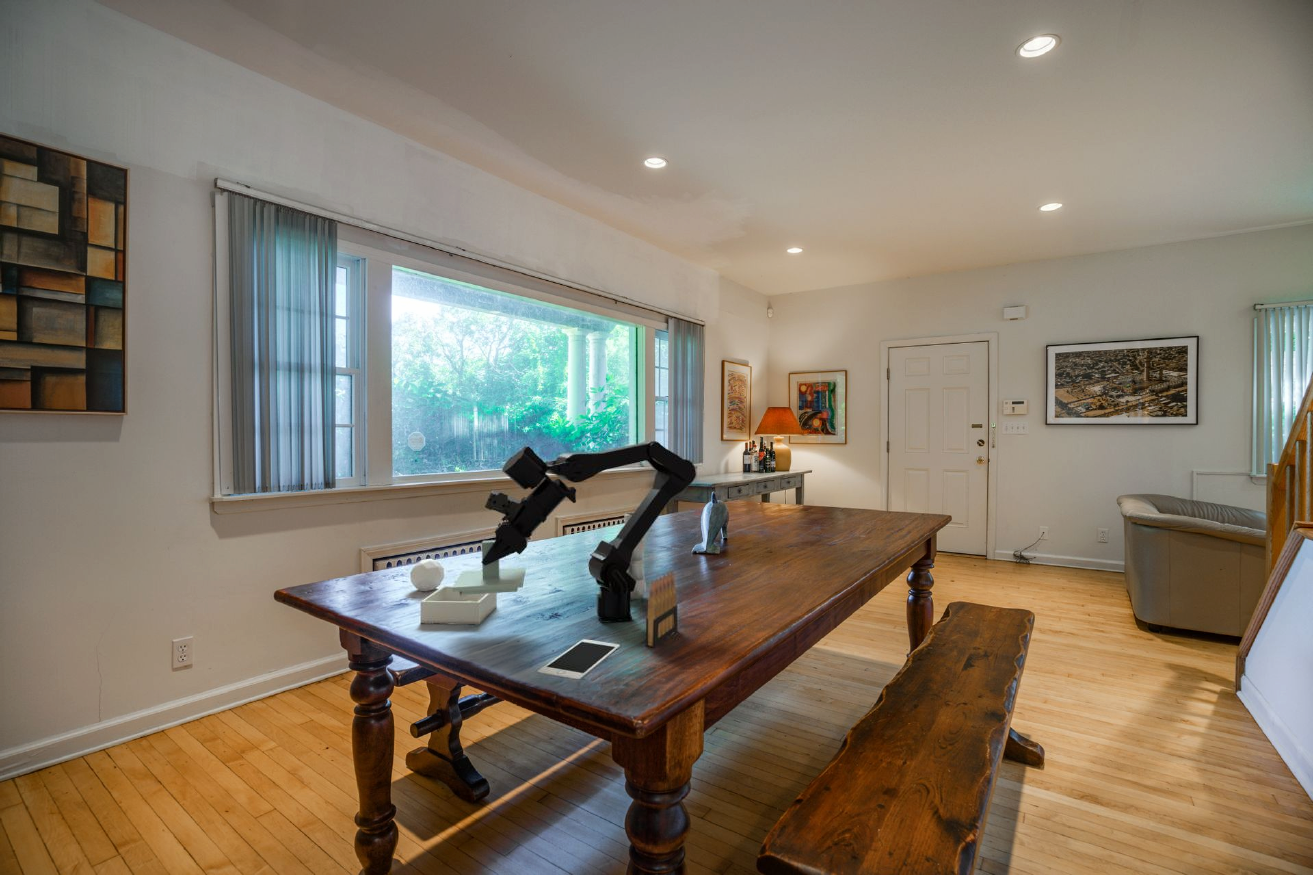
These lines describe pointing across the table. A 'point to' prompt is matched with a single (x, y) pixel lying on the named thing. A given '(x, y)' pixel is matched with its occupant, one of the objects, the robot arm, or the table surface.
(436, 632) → the table surface
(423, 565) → the geometric ball
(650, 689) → the table surface
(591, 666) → the cell phone
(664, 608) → the ammunition clip
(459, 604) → the tub
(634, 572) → the plastic bottle
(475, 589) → the lid
